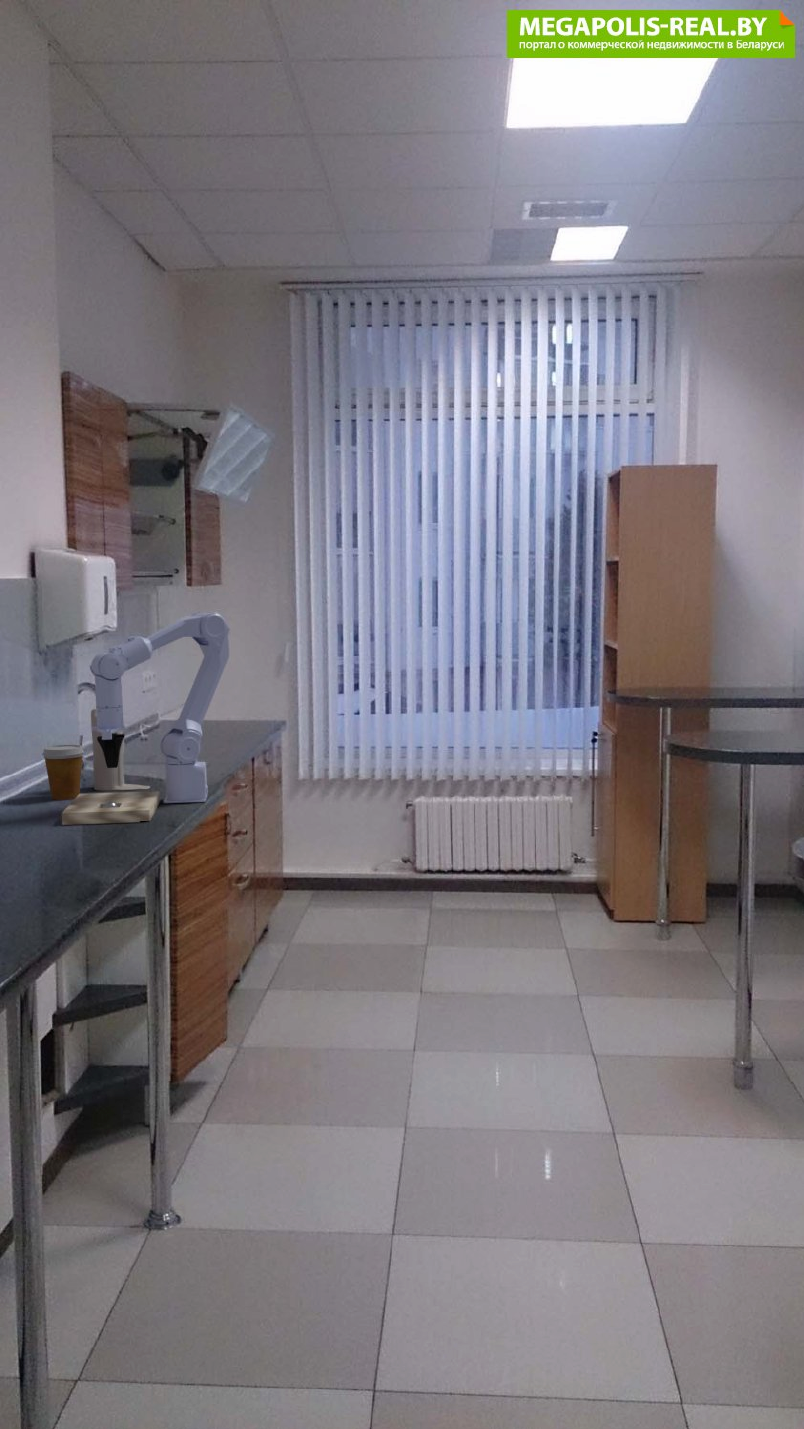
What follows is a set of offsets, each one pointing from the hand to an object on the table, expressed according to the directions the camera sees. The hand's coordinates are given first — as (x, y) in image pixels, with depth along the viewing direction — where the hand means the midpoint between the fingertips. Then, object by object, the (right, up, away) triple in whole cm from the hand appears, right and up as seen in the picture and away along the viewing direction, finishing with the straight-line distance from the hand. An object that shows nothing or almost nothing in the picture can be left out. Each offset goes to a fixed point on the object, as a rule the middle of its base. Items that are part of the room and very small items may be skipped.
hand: (112, 767), depth 254 cm
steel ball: (+2, -9, -8) cm, 12 cm away
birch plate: (+1, -10, -3) cm, 10 cm away
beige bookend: (-4, -7, +27) cm, 28 cm away
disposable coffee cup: (-15, -8, +16) cm, 23 cm away
